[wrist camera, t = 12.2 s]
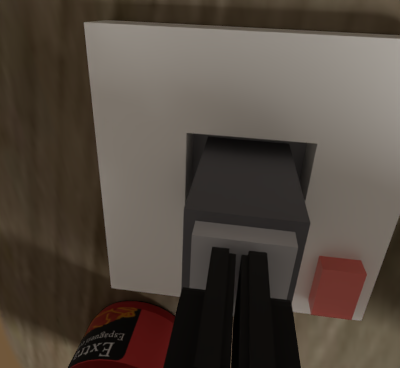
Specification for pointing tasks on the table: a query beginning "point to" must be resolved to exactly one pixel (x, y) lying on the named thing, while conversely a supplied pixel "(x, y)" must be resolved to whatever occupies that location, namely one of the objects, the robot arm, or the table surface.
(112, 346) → the canned food
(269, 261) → the plug
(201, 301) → the robot arm
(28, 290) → the table surface
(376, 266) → the socket plate
